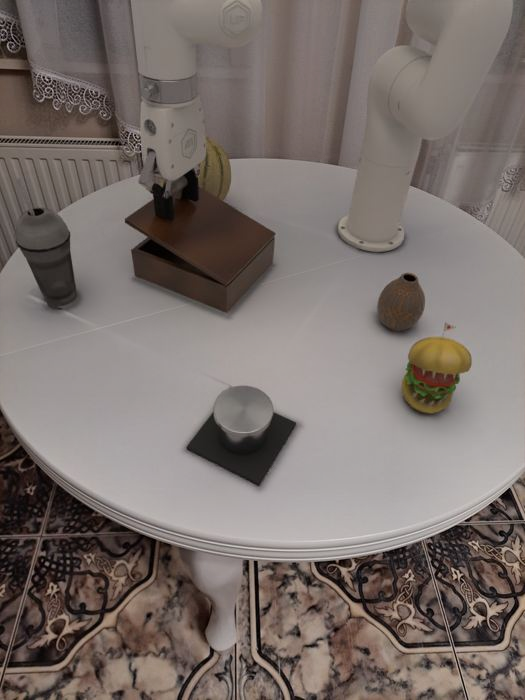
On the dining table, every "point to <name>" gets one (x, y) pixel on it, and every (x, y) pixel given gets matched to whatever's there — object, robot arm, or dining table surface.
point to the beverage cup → (47, 252)
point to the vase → (401, 303)
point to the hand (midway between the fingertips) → (177, 207)
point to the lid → (204, 233)
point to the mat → (243, 465)
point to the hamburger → (434, 372)
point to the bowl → (242, 419)
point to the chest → (196, 274)
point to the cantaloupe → (213, 171)
